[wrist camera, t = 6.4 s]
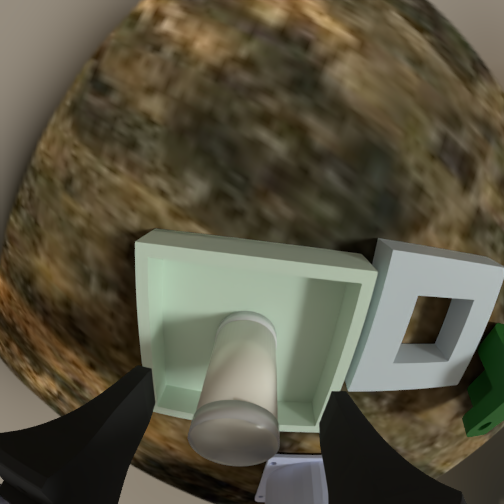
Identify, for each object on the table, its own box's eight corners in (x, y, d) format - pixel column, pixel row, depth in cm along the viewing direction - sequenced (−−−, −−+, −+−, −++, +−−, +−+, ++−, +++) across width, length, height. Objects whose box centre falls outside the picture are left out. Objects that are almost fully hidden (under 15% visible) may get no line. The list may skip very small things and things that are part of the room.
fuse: (271, 362, 16) (271, 469, 9) (215, 355, 16) (189, 459, 9) (280, 314, 15) (287, 422, 8) (218, 307, 15) (186, 410, 8)
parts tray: (318, 404, 17) (322, 432, 15) (160, 384, 17) (148, 410, 15) (361, 253, 14) (378, 271, 12) (155, 228, 14) (134, 241, 12)
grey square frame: (445, 367, 16) (457, 384, 14) (341, 369, 16) (348, 391, 14) (487, 257, 14) (506, 268, 12) (377, 238, 14) (392, 249, 12)
